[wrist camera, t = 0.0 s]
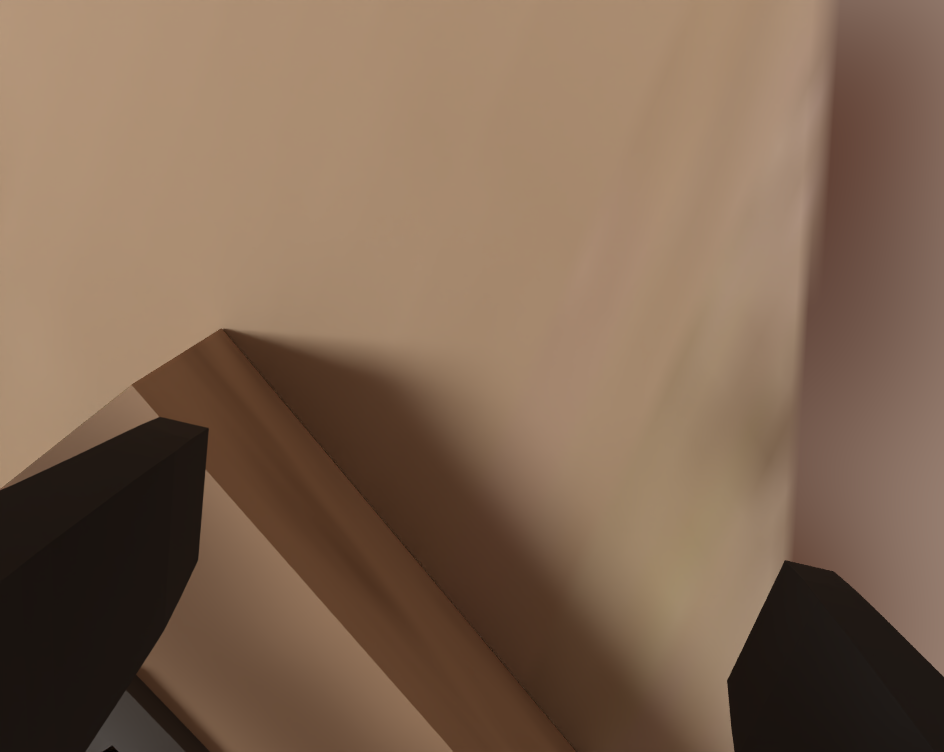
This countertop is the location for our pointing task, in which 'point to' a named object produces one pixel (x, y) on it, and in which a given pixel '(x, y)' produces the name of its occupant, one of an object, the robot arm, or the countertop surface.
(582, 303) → the countertop surface
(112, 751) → the steel peg
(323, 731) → the walnut block
